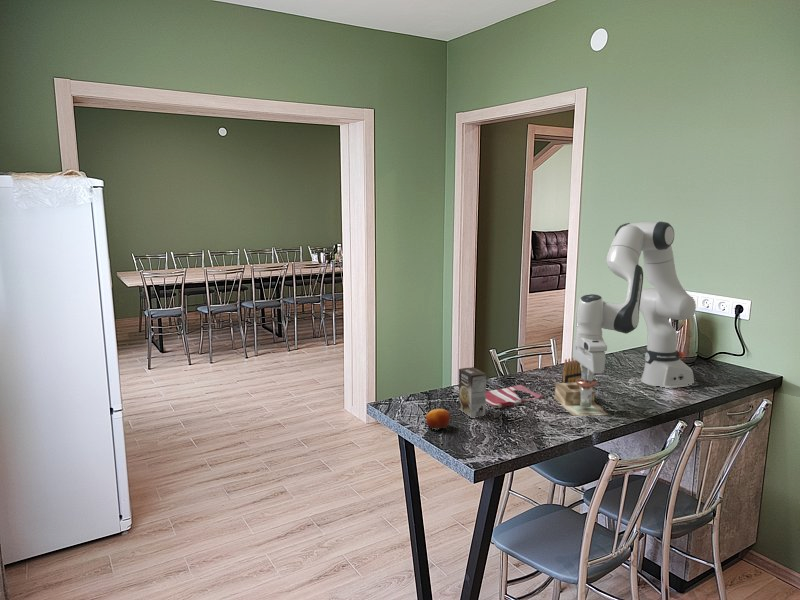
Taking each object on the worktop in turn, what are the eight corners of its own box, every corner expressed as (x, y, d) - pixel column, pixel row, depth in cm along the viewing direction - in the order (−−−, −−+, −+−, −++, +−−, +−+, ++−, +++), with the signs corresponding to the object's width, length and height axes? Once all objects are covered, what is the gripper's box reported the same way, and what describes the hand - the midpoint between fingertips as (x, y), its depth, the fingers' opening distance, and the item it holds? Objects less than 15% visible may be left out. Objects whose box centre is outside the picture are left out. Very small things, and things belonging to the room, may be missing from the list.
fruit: (435, 432, 195) (429, 408, 198) (426, 436, 202) (421, 413, 205) (457, 428, 199) (451, 404, 201) (447, 432, 205) (441, 409, 208)
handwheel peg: (572, 402, 218) (574, 370, 216) (591, 401, 219) (592, 369, 217) (579, 408, 212) (581, 375, 209) (598, 408, 212) (600, 375, 210)
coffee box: (457, 411, 218) (458, 368, 215) (472, 408, 221) (473, 366, 218) (470, 419, 210) (471, 375, 207) (486, 416, 213) (487, 373, 210)
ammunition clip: (580, 382, 250) (582, 355, 248) (584, 384, 248) (585, 356, 246) (561, 386, 245) (562, 358, 243) (564, 388, 244) (565, 359, 241)
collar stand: (584, 396, 233) (585, 381, 232) (608, 417, 211) (609, 400, 210) (552, 397, 232) (552, 382, 231) (572, 418, 210) (573, 402, 209)
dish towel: (545, 401, 229) (545, 395, 229) (494, 411, 219) (494, 404, 219) (518, 389, 244) (518, 382, 244) (469, 397, 234) (470, 391, 234)
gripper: (569, 334, 221) (568, 370, 223) (591, 348, 201) (589, 387, 203) (586, 333, 222) (584, 369, 224) (609, 347, 201) (607, 386, 204)
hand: (586, 378), depth 214 cm, fingers closed on handwheel peg, 3 cm apart
